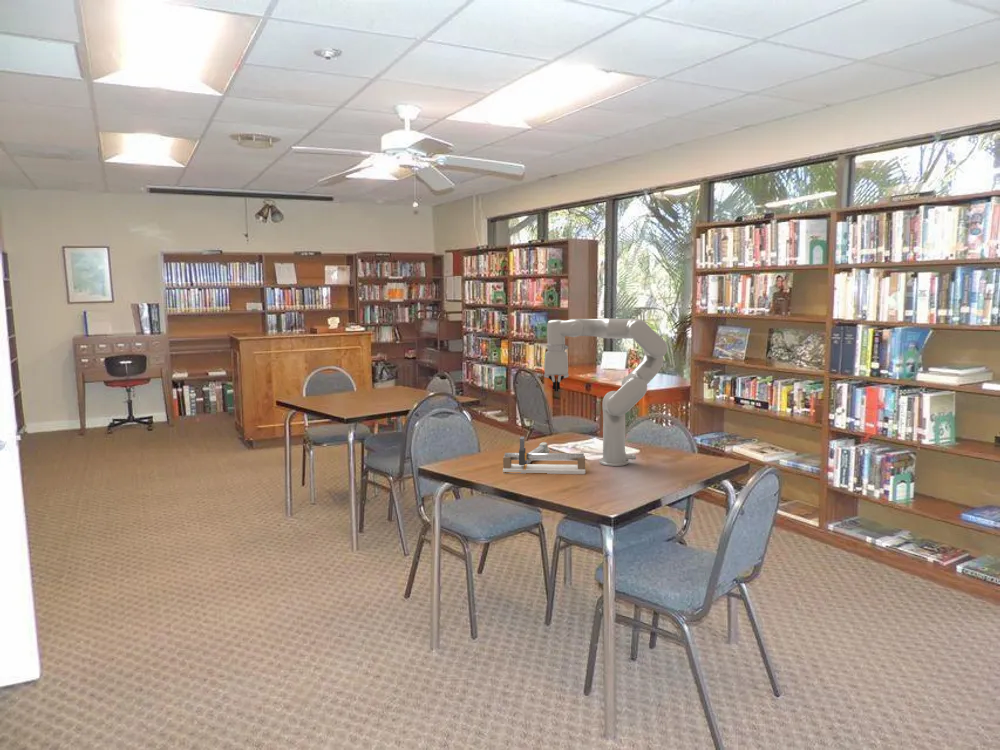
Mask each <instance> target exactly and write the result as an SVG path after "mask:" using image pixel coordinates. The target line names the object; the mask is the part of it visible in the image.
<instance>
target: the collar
mask: <svg viewBox="0 0 1000 750" xmlns="http://www.w3.org/2000/svg"><path fill="white" fill-rule="evenodd" d="M518 453H519V460H518V464H519V465H525V462H526V460H525V453H526V447H525V436H520V437H519V450H518Z"/></svg>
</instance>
